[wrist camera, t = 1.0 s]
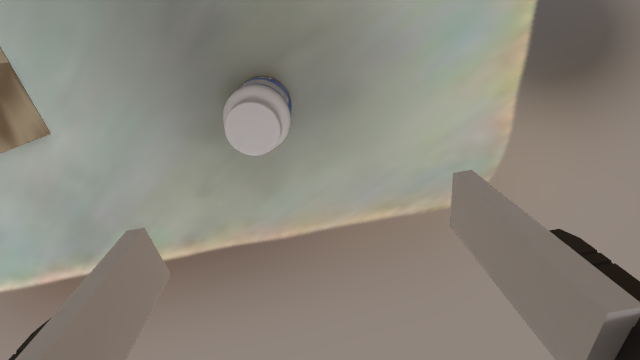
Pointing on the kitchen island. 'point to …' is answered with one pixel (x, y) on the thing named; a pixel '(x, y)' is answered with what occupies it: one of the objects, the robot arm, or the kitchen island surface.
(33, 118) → the socket block
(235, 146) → the pill bottle
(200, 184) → the kitchen island surface
